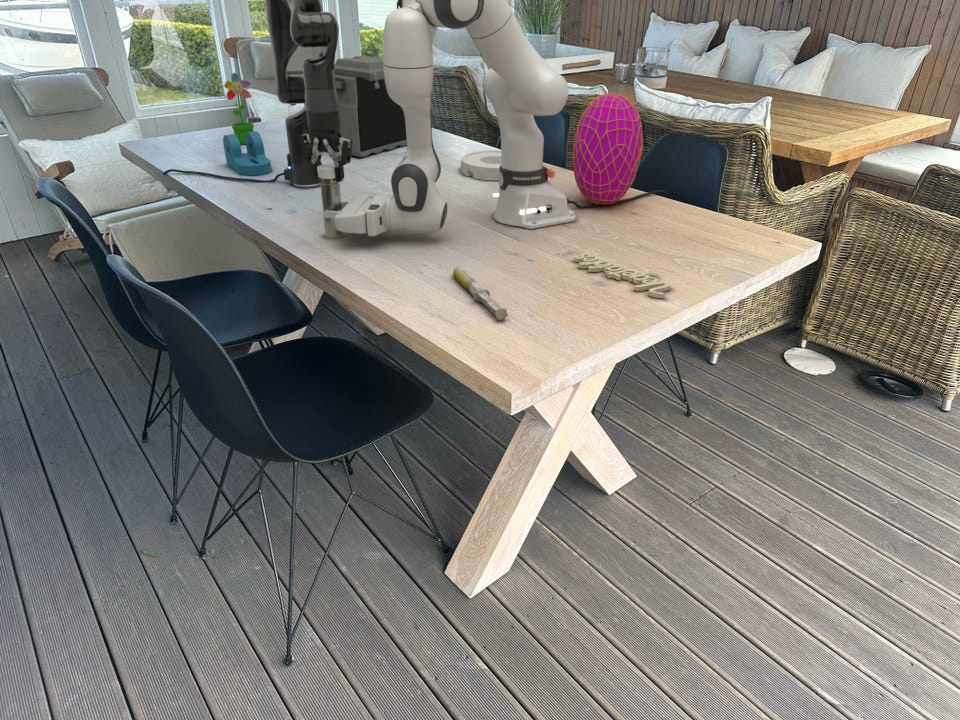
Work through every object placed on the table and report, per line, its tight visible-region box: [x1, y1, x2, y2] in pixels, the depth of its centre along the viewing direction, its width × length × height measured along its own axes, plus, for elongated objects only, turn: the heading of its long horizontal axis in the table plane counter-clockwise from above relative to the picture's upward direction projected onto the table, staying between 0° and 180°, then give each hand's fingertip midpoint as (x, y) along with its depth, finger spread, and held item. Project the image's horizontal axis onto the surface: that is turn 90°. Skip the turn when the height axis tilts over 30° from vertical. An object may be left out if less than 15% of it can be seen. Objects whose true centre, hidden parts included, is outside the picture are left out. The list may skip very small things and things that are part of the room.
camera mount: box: [222, 131, 272, 176], centre depth 226 cm, size 18×10×10 cm, turn 35°
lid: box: [317, 163, 336, 179], centre depth 168 cm, size 5×5×2 cm
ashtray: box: [460, 149, 501, 182], centre depth 229 cm, size 23×23×4 cm
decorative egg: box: [571, 92, 644, 205], centre depth 194 cm, size 19×19×30 cm
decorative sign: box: [574, 252, 671, 299], centre depth 155 cm, size 26×1×10 cm
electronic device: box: [334, 55, 407, 159], centre depth 250 cm, size 37×22×30 cm, turn 144°
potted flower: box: [223, 72, 255, 145], centre depth 254 cm, size 9×8×25 cm
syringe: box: [452, 266, 509, 321], centre depth 145 cm, size 25×4×3 cm, turn 21°
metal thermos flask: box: [320, 178, 345, 240], centre depth 172 cm, size 5×5×16 cm
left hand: (329, 179), depth 169 cm, fingers closed on lid, 5 cm apart
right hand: (328, 209), depth 172 cm, fingers closed on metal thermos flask, 5 cm apart
